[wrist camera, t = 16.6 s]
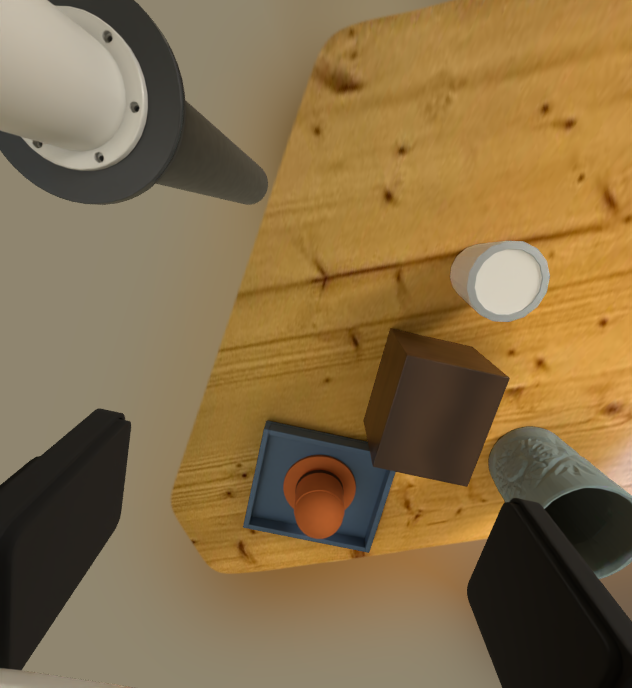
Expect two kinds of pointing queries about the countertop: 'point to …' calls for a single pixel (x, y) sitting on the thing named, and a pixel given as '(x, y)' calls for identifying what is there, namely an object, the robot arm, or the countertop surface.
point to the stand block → (431, 407)
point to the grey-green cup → (567, 495)
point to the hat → (319, 494)
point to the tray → (297, 443)
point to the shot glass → (501, 279)
